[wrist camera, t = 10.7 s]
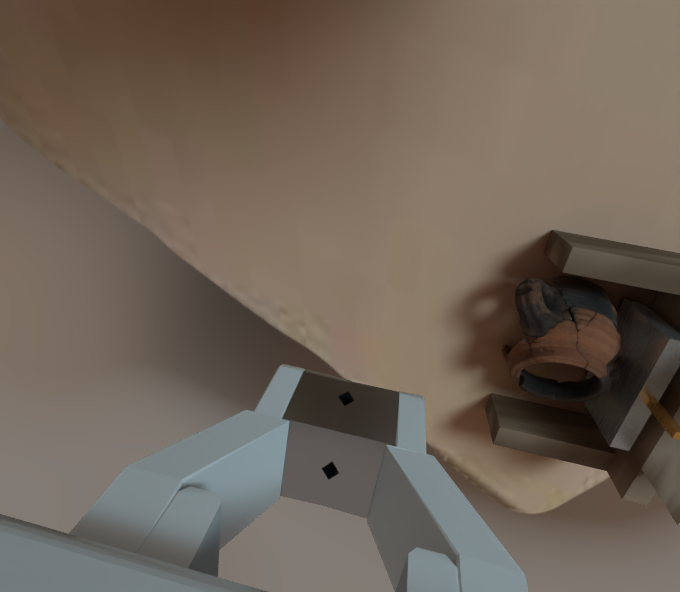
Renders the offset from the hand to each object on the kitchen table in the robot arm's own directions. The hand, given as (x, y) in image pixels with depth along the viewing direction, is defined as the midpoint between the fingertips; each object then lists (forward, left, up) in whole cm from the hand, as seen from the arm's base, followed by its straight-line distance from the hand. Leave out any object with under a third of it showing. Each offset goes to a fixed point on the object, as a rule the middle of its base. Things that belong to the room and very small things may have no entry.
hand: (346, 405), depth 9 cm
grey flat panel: (+10, +22, -29) cm, 38 cm away
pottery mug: (+9, +15, -29) cm, 34 cm away
